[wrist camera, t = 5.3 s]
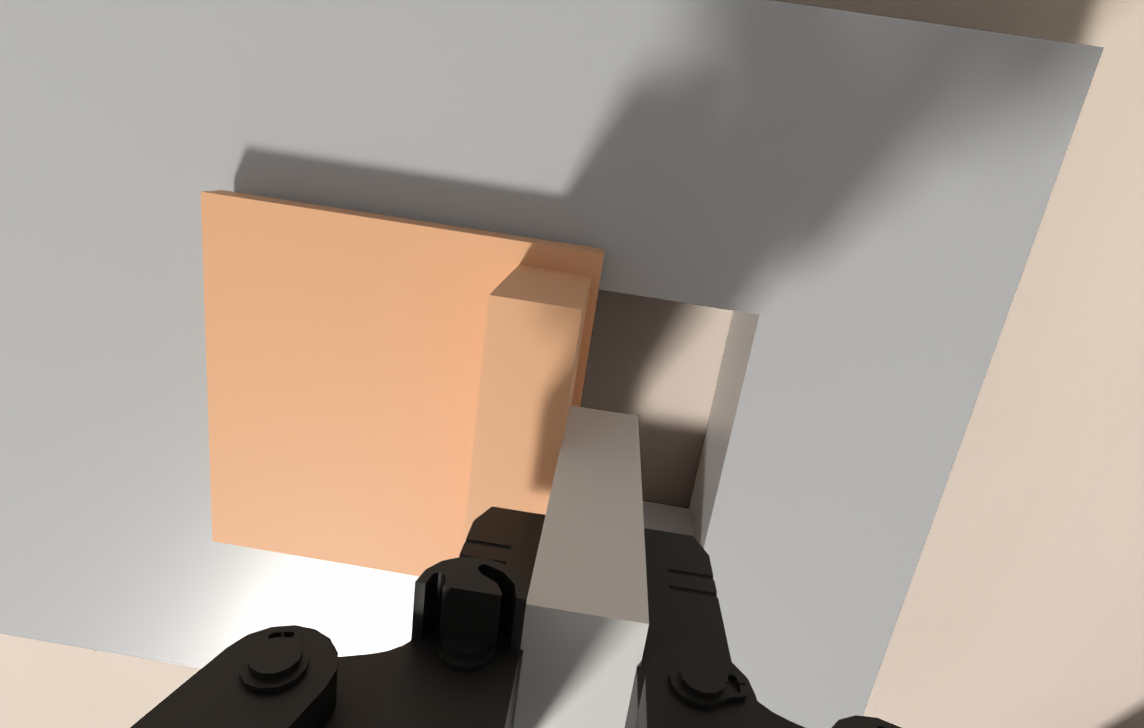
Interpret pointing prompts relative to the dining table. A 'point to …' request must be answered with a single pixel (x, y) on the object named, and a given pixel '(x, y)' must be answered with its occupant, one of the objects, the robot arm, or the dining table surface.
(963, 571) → the dining table surface
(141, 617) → the socket
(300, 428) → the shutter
